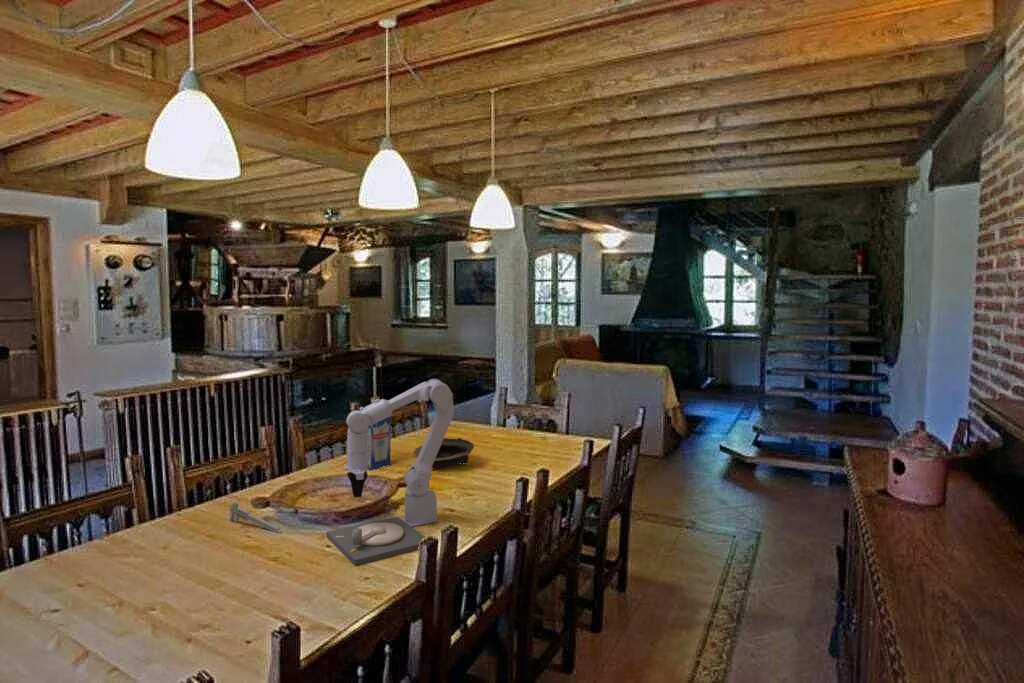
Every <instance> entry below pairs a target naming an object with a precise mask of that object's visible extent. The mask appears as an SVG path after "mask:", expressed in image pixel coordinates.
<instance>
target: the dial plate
mask: <svg viewBox="0 0 1024 683" xmlns="http://www.w3.org/2000/svg"><path fill="white" fill-rule="evenodd" d="M400 518H401V517H399V516H394V517H390V518H389V517H388V518H386V519H385V518H384V519H379V520H375V521H369V522H366V523H365V522H364V523H361V524H357V525H352V526H348V527H347V526H346V527H342V528H338V529H334V530H329V531H326V532H325V533H326V535H325V536H326V538H327V540H328V541H330V542H331V543H332V545H334V546H335V547H336V548H337V549H338V550H339V551H340V552H341V554H343V555H344V557H346V558H347V559H348V560H349V561H350V562H351V563H352V565H353V566H356V567H357V566H359V565H363V564H366V563H367V564H368V563H371V562H375V561H379V560H382V559H386V558H391V557H394V556H398V555H403V554H406V553H409V552H414V551H418V547H419V542H420V541H421V540H422V539H423V538H425V537H426V536H425V535H424V534H422V533H421V532H420V531H418V530H417V529H415V527H411V526H410V525H408V524H407V523H406V522H404V521H403V520H401V519H400ZM371 523H393V524H396V525H399V526H401V527H402V528H403V536H402V538H401V539H399V540H398V541H396V542H393V543H390V544H386V545H378V546H370V545H362V544H360V545H353V538H352V533H353V530H354V529H356V528H358V527H360V526H363V525H366V524H371Z"/></svg>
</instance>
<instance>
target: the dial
mask: <svg viewBox="0 0 1024 683" xmlns="http://www.w3.org/2000/svg"><path fill="white" fill-rule="evenodd" d="M402 536H403V528H402V527H401V526H399V525H396V524H393V523H371V524H366V525H363V526H360V527H358V528H356V529H354V530H353V533H352V538H353V545H360V544H362V545H370V546H378V545H386V544H390V543H393V542H396V541H398V540H399V539H401V538H402Z"/></svg>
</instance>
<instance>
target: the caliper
mask: <svg viewBox="0 0 1024 683" xmlns="http://www.w3.org/2000/svg"><path fill="white" fill-rule="evenodd" d="M240 519H241V520H244V521H245V522H248V521H250V522H252V523H253V524H256V525H258V526H261V528H264V529H266V530H268V531H271V532H272V533H277V534H282V533H283V530H281V529H280V527H278V526H277V525H274V524H272V523H270V522H268V521H266V520H264V519H262V518H261V517H258V516H256V515H254V514H252V513H251V512H250V511H249V510H246V509H245V508H242V507H240V506H239V503H237V501H233V502H232V504H231V505H230V509H229V521H230V522H233V521H234V522H233V523H234V524H235V523H237V522H239V521H240Z"/></svg>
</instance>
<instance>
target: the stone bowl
mask: <svg viewBox="0 0 1024 683" xmlns="http://www.w3.org/2000/svg"><path fill="white" fill-rule="evenodd" d="M422 446H423V444H422V445H420V446H419V447H416V448H415V449H414V450H413V452H412V453H413V454H414V455H415V457H417V458H418V456H419V453H420V451H421V448H422ZM474 448H475V444H474V443H473V442H471V441H470V440H467V439H463V438H461V437H459V438H447V437H444V439H443V441H442V444H441V446H440V448H439V451H438V453H437V455H436V458H435V460H434V463H433V465H432V468H435V469H441V468H442V469H443V468H446V467H450V466H454V465H455V466H456V465H458V464H459V463H461V464H463V463H467V464H468V460H469V455H471V453H472V451H473V450H474ZM461 464H459V465H461Z"/></svg>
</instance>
